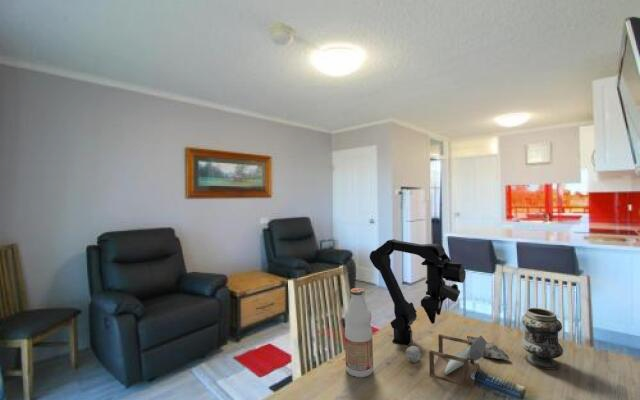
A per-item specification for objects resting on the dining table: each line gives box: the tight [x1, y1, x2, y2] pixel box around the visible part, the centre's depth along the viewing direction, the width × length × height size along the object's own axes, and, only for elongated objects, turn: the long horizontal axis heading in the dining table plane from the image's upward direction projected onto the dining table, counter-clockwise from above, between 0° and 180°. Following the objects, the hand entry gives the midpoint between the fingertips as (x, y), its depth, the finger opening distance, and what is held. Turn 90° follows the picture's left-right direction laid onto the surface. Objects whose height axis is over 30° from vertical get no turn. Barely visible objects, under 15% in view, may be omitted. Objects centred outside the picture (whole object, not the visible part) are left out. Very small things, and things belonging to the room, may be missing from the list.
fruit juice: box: [344, 287, 374, 378], centre depth 108 cm, size 9×9×28 cm
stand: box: [428, 333, 480, 389], centre depth 106 cm, size 13×15×8 cm
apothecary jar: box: [520, 307, 564, 371], centre depth 110 cm, size 12×12×18 cm
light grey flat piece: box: [444, 335, 487, 375], centre depth 105 cm, size 14×11×2 cm
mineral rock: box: [466, 335, 510, 361], centre depth 117 cm, size 15×8×4 cm, turn 15°
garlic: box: [405, 345, 422, 363], centre depth 112 cm, size 6×5×5 cm
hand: (435, 319), depth 118 cm, fingers open, 9 cm apart
